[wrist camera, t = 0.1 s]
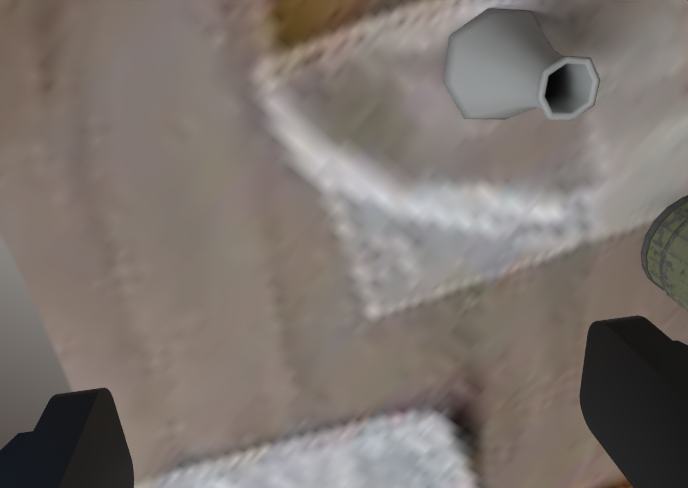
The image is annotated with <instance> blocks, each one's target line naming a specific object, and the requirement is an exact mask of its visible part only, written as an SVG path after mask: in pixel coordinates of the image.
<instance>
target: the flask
mask: <svg viewBox="0 0 688 488" xmlns="http://www.w3.org/2000/svg"><path fill="white" fill-rule="evenodd" d="M599 83H600V78H599V76H598V74H597V71H596V69H595V67H594V64H593V62H592V60H591V58H590V57H573V56H562V55H560V54H559V53H558V52H556V51H555V50H554V49H553V48H552V46H551V44H550V43H549V41H548V40H547V38H546V37H545V35H544V34H543V32H542V31H541V29H540V27H539V25H538V23H537V21H536V19H535V18H534V16H533V14H532V13H531V11H518V10H498V9H487V10H485V11H484V12H483V13H481V14H480V15H478V16H477V17H476V18H474V19H473V20H471V21H470V22H469V23H467V24H466V25H464V26H463V27H462V28H460V29H459V30H457V31H456V32H455V33H453V34H452V35H450V36H449V41H448V50H447V58H446V67H445V76H444V84H445V86H446V88H447V90H448V91H449V93H450V95H451V97H452V98H453V100H454V102H455V104H456V105H457V107H458V109H459V110H460V112H461V114H462V116H463V117H464V119H507V118H510V117H512V116H515V115H517V114H519V113H522V112H525V111H528V110H531V109H534V108H539V109H542V110H543V112H544V114H545V116H546V118H547V119H560V120H573V119H575V118H576V117H578V116H579V115H581V114H582V113H584V112H585V111H587V110H588V109H590V108H591V107H593V106H594V105H595V100H596V96H597V91H598V87H599Z"/></svg>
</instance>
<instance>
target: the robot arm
mask: <svg viewBox="0 0 688 488" xmlns="http://www.w3.org/2000/svg"><path fill="white" fill-rule="evenodd" d="M580 405H581V410H582V413H583V416H584V419H585V421H586V424H587V426H588V427H589V429H590V431H591V432H592V433H593V435H594V436H595V437H596V439H597V440H598V441H599V443H600V444H601V445H602V447H603V448H604V449H605V451H606V452H607V453H608V455H609V456H610V457H611V459H612V460H613V461H614V463H615V464H616V465H617V467H618V468H619V469H620V471H621V472H622V473H623V474H624V476H625V477H626V478H627V480H628V481H629V482H630V484H631V485H632V486H633V488H688V345H686V344H684V343H682V342H680V341H672V340H671V339H670V338H669V337H668V336H667V335H665V334H664V333H663V332H662V331H661V330H659V329H658V328H657V327H656V326H655V325H653V324H652V323H651V322H650V321H649V320H647V319H646V318H644V317H642V316H630V317H623V318H616V319H608V320H601V321H595V322H593V323H592V324H591V326H590V328H589V330H588V335H587V343H586V350H585V358H584V365H583V373H582V380H581V388H580ZM0 488H134V471H133V464H132V459H131V456H130V452H129V449H128V446H127V442H126V439H125V436H124V433H123V429H122V426H121V423H120V419H119V416H118V413H117V410H116V406H115V403H114V400H113V397H112V395H111V393H110V391H109V390H108V389H107V388H99V389H91V390H84V391H77V392H70V393H62V394H56V395H54V396H53V397H52V398H51V399H50V400H49V402H48V404H47V406H46V408H45V410H44V412H43V414H42V416H41V417H40V420H39V421H38V423H37V425H36V427H35V429H34V431H32V432H25V433H18V434H17V435H16V436H15V437H14V438H13V439H12V440H11V441H10V442H9V443H8V444H7V445H6V446H4V448H2V449H1V450H0Z"/></svg>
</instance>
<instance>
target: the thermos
mask: <svg viewBox="0 0 688 488" xmlns="http://www.w3.org/2000/svg"><path fill="white" fill-rule="evenodd" d="M641 258H642V267H643V269H644V271H645V273H646V275H647V277H648V279H649V280H651V281H652V282H653V283H654V284H656V285H657V286H658V287H660V288H661V289H662V290H665V291H666V293H667V295H668V296H669V297H670V298H672V299H673V300H674V301H675V302H677V303H678V304H679V305H681V306H682V307H683V308H685V309H686V310H687V311H688V196H686V197H683V198H681V199H680V200H678V201H677V202H675V203H673V204H672V205H670V206H669V207H667V208H666V209H665V210H664V211H663V212H662V213H661V214H660V215H659V217H658V218H657V219H656V220H655V221H654V222H653V224H652V226H651V227H650V229H649V231H648V233H647V234H646V236H645V239H644V243H643V247H642V251H641Z"/></svg>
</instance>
